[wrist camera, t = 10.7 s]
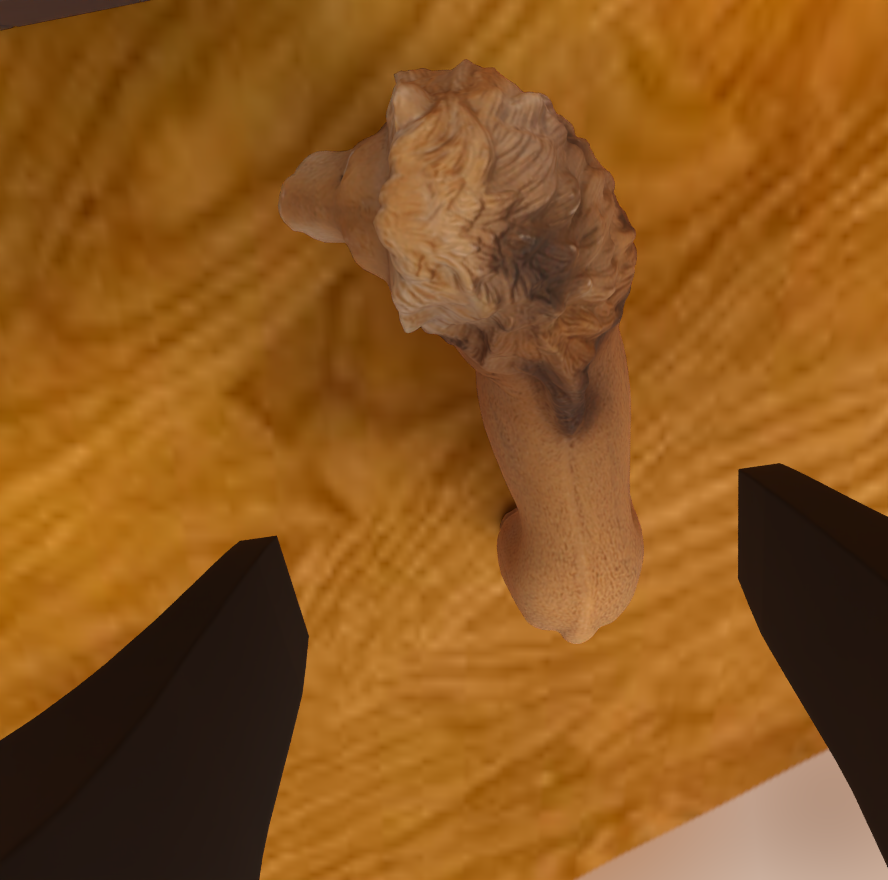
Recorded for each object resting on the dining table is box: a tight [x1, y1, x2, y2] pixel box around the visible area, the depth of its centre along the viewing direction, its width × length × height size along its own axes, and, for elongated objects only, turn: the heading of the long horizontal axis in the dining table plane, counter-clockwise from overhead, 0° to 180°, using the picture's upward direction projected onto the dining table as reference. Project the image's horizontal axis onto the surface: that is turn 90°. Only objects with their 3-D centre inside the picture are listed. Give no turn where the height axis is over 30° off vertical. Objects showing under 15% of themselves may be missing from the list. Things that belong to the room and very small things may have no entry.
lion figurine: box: [278, 59, 644, 644], centre depth 16 cm, size 15×5×9 cm, turn 22°
